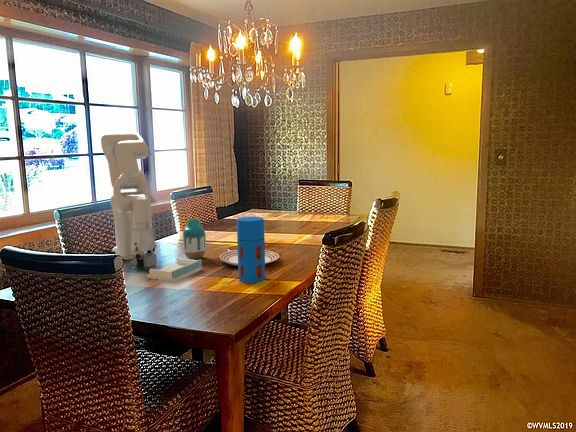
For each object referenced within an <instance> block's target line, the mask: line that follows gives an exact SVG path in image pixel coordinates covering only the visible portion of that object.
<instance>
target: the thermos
mask: <svg viewBox="0 0 576 432" xmlns="http://www.w3.org/2000/svg"><path fill="white" fill-rule="evenodd" d="M264 219H265V218H264V217H261V216H241V217H238V218H237V219H236V238H237V239H236V240H237V241H236V242H237V250H238V266H237V267H238V268H237V269H238V270H237V271H238V272H237V273H238V280H239V281H240V282H241V283H244V284H256V283H261V282H263V281H265V279H266V264H265V250H266V249H265V243H266V242H265V220H264Z"/></svg>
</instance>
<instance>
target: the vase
mask: <svg viewBox="0 0 576 432" xmlns="http://www.w3.org/2000/svg"><path fill="white" fill-rule="evenodd" d="M186 225H187V226H186V227H184V229H183V233H182V244H183V245H182V246H183V252H184V255H185V257H186V259H190V260H200V259H201V258H203V257H204V256H205V254H206V252H207V251H206V250H207V249H206V248H207V241H206V240H207V239H206V231H205V228H204V227H203V226H201V224H200V219H199V218H196V217H194V218H188V219H187V224H186Z"/></svg>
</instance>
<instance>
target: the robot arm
mask: <svg viewBox="0 0 576 432" xmlns="http://www.w3.org/2000/svg"><path fill="white" fill-rule="evenodd" d="M100 144H101V149H102V153H103V155H104V156H105V158H106V161H107V164H108V170H109V171H108V172H109V177H110V184H111V186H112V188H113V191H112V192H113V194H112V195H111V197H110V206H111V209H112V214H113V215H112V216H113V223H114V235H115V246H114V247H113V248H112V249H111V252H113V253H115V254H118V255H120V256H121V258H122V259H124V260H123V261H125V260H127V261H129V260H134V259H133V256H134V257H135V258H136V259H137V267H138V268H141V269H143V268H144V265H143V259H142V256H143V252H145V253H153V254H155V252H156V249H157V247H158V245H157V243H156V241H155V232H154V228H153V220H152V207H151V206H152V204H151V199H150V197H149V191H148V185H147V179H146V178H147V177H146V175H145V173H144V172H143V170H140V169H139V164H138V163H139V162H138V160H143V159H147V158H148V156H149V148H148V145H147V143H146V141H145V140H144V139H143V137H142V136H141V135H140V134H139V133H137V132H132V131H131V132H125V131H124V132H121V131H120V132H119V131H117V132H116V131H115V132H108V133H104V134H103V135H101V138H100ZM124 190H125V191H126V192H125V191H124ZM127 190H135V191H127ZM122 191H123V192H122ZM131 213H132V215H131ZM139 253H140V256H139ZM115 254H114V255H115Z"/></svg>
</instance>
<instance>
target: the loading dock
mask: <svg viewBox="0 0 576 432" xmlns="http://www.w3.org/2000/svg"><path fill="white" fill-rule="evenodd" d="M202 261H203V259H190V258H180V257H179V258H178V257H177V258H176V263H172V264H170V265H167V266H165V267H162V268H160V269H157V268H156V269H155V268H153V269H149V270H148V271H149V273H147V274H146V278H147V279H149V278H151V280H156V279H158V281H163V280H165V281H164V282H171V283H176V282H177V281H180V280H182V279H184V278H187V277H189V276H191V275H193V274H195V273H198V272H199V271H201V270H203V264H202Z"/></svg>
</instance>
